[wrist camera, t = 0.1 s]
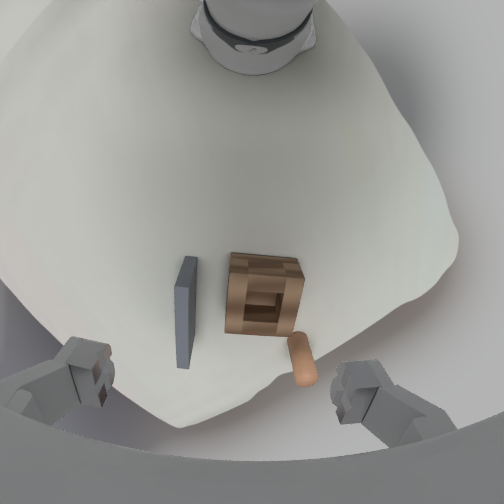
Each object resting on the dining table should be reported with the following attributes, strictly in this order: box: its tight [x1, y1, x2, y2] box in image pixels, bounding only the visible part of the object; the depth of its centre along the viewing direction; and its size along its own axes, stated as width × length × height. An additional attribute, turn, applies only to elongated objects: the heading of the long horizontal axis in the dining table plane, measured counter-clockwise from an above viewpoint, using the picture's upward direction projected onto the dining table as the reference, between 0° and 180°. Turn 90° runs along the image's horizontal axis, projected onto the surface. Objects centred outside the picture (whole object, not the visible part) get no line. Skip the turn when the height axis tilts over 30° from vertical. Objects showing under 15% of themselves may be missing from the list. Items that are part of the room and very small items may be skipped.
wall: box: [174, 256, 197, 369], centre depth 49 cm, size 16×2×10 cm, turn 173°
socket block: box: [225, 253, 305, 337], centre depth 49 cm, size 11×11×7 cm
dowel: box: [287, 332, 318, 387], centre depth 53 cm, size 4×4×11 cm
